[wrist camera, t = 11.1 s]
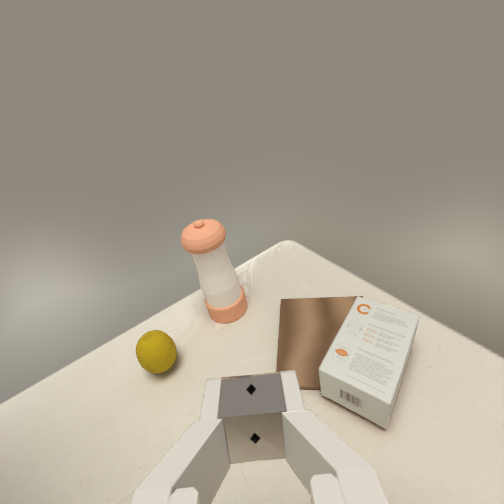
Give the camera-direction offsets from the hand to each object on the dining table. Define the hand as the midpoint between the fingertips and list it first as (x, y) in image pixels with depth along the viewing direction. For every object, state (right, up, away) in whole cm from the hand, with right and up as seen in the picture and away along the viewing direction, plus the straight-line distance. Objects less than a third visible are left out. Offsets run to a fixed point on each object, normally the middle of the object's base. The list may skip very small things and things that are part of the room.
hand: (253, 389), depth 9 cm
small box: (+11, -12, +22) cm, 28 cm away
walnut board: (+11, -9, +34) cm, 37 cm away
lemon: (-14, -14, +35) cm, 41 cm away
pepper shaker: (-4, -6, +43) cm, 44 cm away
